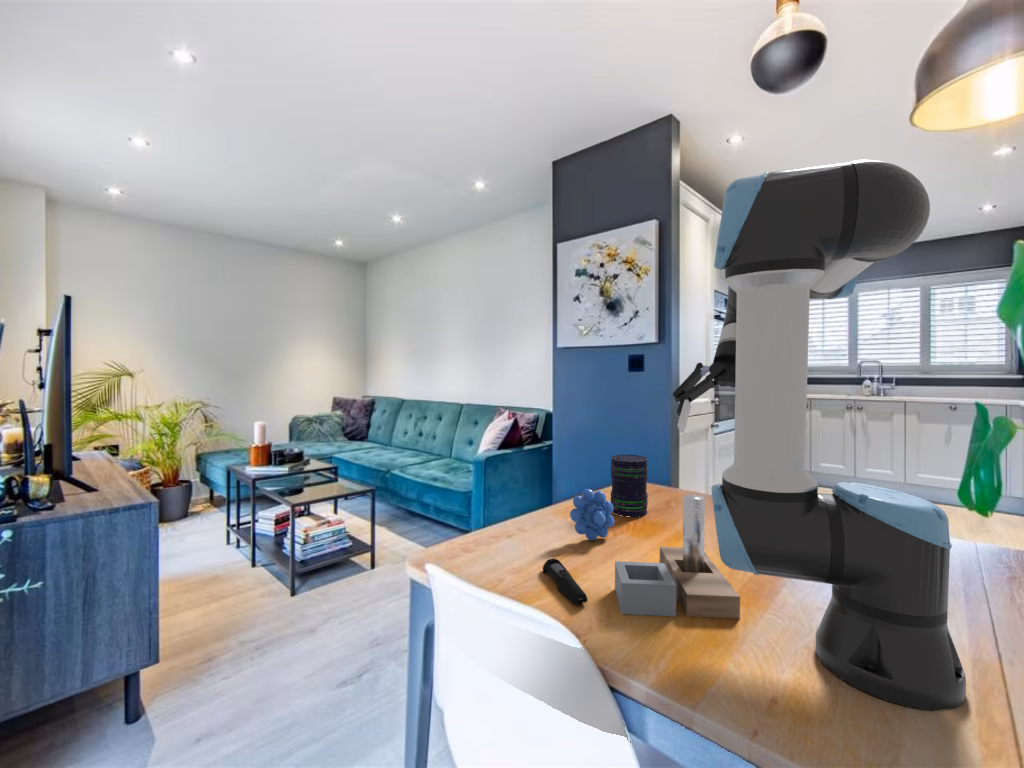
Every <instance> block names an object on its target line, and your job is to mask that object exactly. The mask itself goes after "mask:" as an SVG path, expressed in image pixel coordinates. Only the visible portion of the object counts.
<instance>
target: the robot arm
mask: <svg viewBox="0 0 1024 768" xmlns="http://www.w3.org/2000/svg"><path fill="white" fill-rule="evenodd" d="M930 213H931V204H930V198H929V194H928V191H927V190H926V188H925V186H924V184H923V183H922V182H921V181H920V179H918V177H916V176H915V175H914V174H913V173H911V172H910V171H909V170H907V169H905V168H903V167H901V166H900V165H899V166H898V165H896V164H895V163H894V164H893V163H890V162H886V161H882V160H873V159H872V160H871V159H869V160H868V159H860V160H859V159H858V160H853V161H848V162H843V163H836V164H828V165H821V166H820V165H819V166H812V167H811V166H810V167H803V168H796V169H786V170H779V171H771V172H769V171H765V172H763V173H762V174H756V175H751V176H747V177H742V178H737V179H735V180H733V181H732V182H731V183H730V184H729V185H728V186H727V188H726V189H725V193H724V196H723V203H722V209H721V214H720V215H721V216H720V224H719V229H718V235H717V236H718V237H717V240H716V241H717V242H716V250H715V256H714V263H713V267H714V268H715V269H717V270H719V271H722V270H724V271H725V272H724V281H725V283H726V284H727V285H728V287H727V299H726V310H725V315H724V321H723V325H722V328H721V331H720V335H719V339H718V342H717V347H716V350H715V353H714V356H713V357H714V358H713V362H712V363H711V364H710V365H703V363H702V362H697V363H696V365H695V368H694V370H693V371H692V372H691V373H690V374H689V375H688V377H687V378H685V380H684V381H683V382H682V383H680V385H679V386H678V387H677V388H676V389H675V390H674V391H673V392H672V396H673V399H674V401H675V402H676V403H678V406H677V410H676V412H677V413H676V414H677V415H678V417H679V418H678V422H677V425H676V426H677V429H678V430H679V432H680V433H685V430H686V427H687V423H688V419H689V416H690V412H691V408H692V405H691V403H693V401H695V400H696V399H698V398H699V397H700V396H702V395H704V394H705V393H707V392H708V391H709V390H711V389H714V388H716V387H717V386H720V387H731V388H735V389H734V391H735V392H734V395H735V396H734V442H733V443H734V446H733V448H734V451H733V455H734V456H733V457H734V459H733V462H732V464H731V465H730V466H728V467H727V468H725V469H724V470H723V471H722V476H721V479H722V480H721V483H716V484H713V485H711V487H710V489H711V498H712V505H713V513H714V522H715V523H714V524H715V530H716V536H717V544H718V545H717V546H718V553H719V558H720V561H722V563H723V564H724V565H725V566H726V567H728V568H729V569H731V570H735V571H740V572H746V573H751V574H753V575H755V576H760V575H762V576H768V577H777V578H783V579H785V578H786V579H791V580H792V579H793V580H798V581H806V582H814V583H820V584H821V583H822V584H829V585H832V586H831V587H832V589H831V597H830V601H829V602H828V605H827V606H826V609H825V611H824V613H823V616H822V619H821V622H820V623H819V626H818V627H817V629H816V634H815V653H816V656H817V657H818V659H819V661H820V662H821V664H823V666H825V668H827V669H828V670H829V671H830V672H831V673H832V674H834V675H835V676H836V677H838V678H840V679H841V680H842V681H844V682H845V683H848V684H849V685H851V686H853V687H854V688H857V689H858V690H860V691H863V692H865V693H867V694H869V695H872V696H873V697H876V698H880V699H882V700H885V701H888V702H891V703H894V704H899V705H901V706H905V705H906V707H909V706H911V707H910V708H915V707H916V708H915V709H921V708H924V709H923V710H930V709H934V710H933V711H935V709H937V710H936V711H942V710H951V709H954V708H957V707H960V706H961V705H962V704H963V703H964V702H965V700H966V697H967V695H966V693H967V677H966V672H965V670H964V668H963V666H962V662H961V660H960V658H959V655H958V652H957V648H956V646H955V644H954V640H953V638H952V635H951V633H950V631H949V627H948V626H949V625H948V612H949V611H948V609H949V581H950V580H949V579H950V578H949V577H950V555H951V554H950V552H951V550H952V548H953V545H952V543H951V542H950V541H951V540H950V538H951V537H950V523H949V522H950V521H949V517H948V516H947V514H946V512H945V511H944V510H943V509H942V508H941V507H939V506H938V505H937V504H935V503H933V502H931V501H929V500H927V499H924V498H922V497H919V496H917V495H912V494H908V493H907V492H904V491H899V490H895V489H891V488H886V487H883V486H882V487H881V486H877V485H873V484H866V483H859V482H852V481H851V482H850V481H849V482H843V481H842V482H841V481H840V482H836V483H835V484H834V485H833V488H832V489H831V492H832V493H824V492H823V493H822V492H821V493H820V492H818V491H819V489H818V488H819V485H818V480H817V479H815V478H814V477H813V475H811V474H810V473H809V472H808V471H807V469H806V437H807V427H806V426H807V407H808V406H807V403H808V401H807V400H808V399H807V398H808V396H807V395H808V371H809V369H808V365H809V364H808V363H809V362H808V361H809V335H810V334H809V333H810V332H809V328H810V327H809V326H810V325H809V324H810V300H820V299H821V300H823V299H824V300H825V299H826V300H833V299H837V298H840V299H841V298H846V297H850V296H851V295H852V294H853V293H854V290H855V288H856V286H857V280H858V275H859V274H861V273H862V272H863V271H865V270H867V268H869V267H870V266H871V265H873V264H874V263H880V262H883V261H888V260H889V259H892V258H894V257H896V256H898V255H900V253H902V252H903V251H905V250H907V249H908V248H909V247H910V246H912V245H913V244H914V243H915V242H916V241H917V240H918V239H919V238H920V236H921V234H923V231H924V230H925V228H926V226H927V224H928V221H929V217H930ZM707 373H709V374H707ZM706 374H707V375H706ZM703 377H705V378H704V379H703V380H702V378H703Z"/></svg>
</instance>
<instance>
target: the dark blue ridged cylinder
mask: <svg viewBox="0 0 1024 768" xmlns="http://www.w3.org/2000/svg"><path fill="white" fill-rule="evenodd" d="M610 459H611V462H610V463H611V464H610V477H611V491H610V502H611V503H612V504H613V507H614V510H613V513H615V514H618V515H622V516H630V517H639V516H644V515H646V514H647V515H648V511H647V510H648V504H649V503H648V502H649V500H648V497H649V494H648V492H647V489H648V487H647V480H648V477H649V474H648V473H649V468H648V457H646V456H643V455H635V454H616V455H612V456H611V457H610ZM613 513H612V514H613ZM647 515H646V516H647ZM644 517H645V516H644ZM639 518H640V517H639Z"/></svg>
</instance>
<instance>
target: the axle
mask: <svg viewBox="0 0 1024 768" xmlns="http://www.w3.org/2000/svg"><path fill="white" fill-rule="evenodd" d="M682 501H683V502H682V504H683V505H682V508H683V510H682V513H683V514H682V547H683V572H694V573H704V552H705V521H706V520H705V518H706V516H705V515H706V508H705V507H706V501H705V497H704V496H702V495H697V494H685V495H683V500H682Z"/></svg>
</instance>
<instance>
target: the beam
mask: <svg viewBox="0 0 1024 768" xmlns="http://www.w3.org/2000/svg"><path fill="white" fill-rule="evenodd" d="M659 563H664V564H665V566H666V567H667V569H668V571H669V573H670V575H671V576H672V578H673V580H674V582H675V584H676V599H677V600H678V601H679V604H680V605H681V607H682V609H683V611H684V613H685V615H686V616H687V617H697V618H716V619H719V618H720V619H721V618H722V619H735V620H736V619H738V620H739V619H740V618H741V596H740V594H739V593H737V591H736V590H735V589H734V587H733V586H732V585H731V583H730V582H729V581H728V580H727V579H726V577H725V576H724V575H723V573H722V572H721V571H720V569H718V567H717V566H716V565H715V564H714V562H713V561H712V559H710V557H709V556H708V555H707V554H706V552H705V551H704V573H694V572H683V546H681V547H680V546H659Z"/></svg>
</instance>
